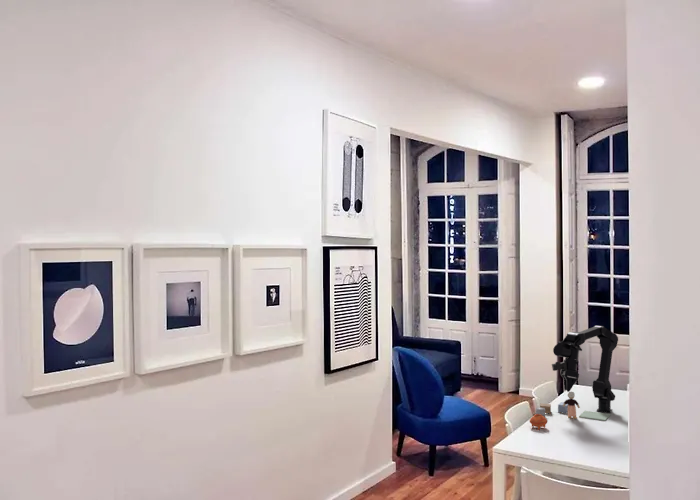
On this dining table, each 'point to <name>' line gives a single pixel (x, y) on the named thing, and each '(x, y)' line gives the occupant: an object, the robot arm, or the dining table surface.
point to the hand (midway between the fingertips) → (566, 390)
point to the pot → (538, 421)
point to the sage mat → (594, 415)
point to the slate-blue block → (562, 408)
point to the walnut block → (546, 407)
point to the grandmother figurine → (571, 405)
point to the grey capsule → (540, 411)
